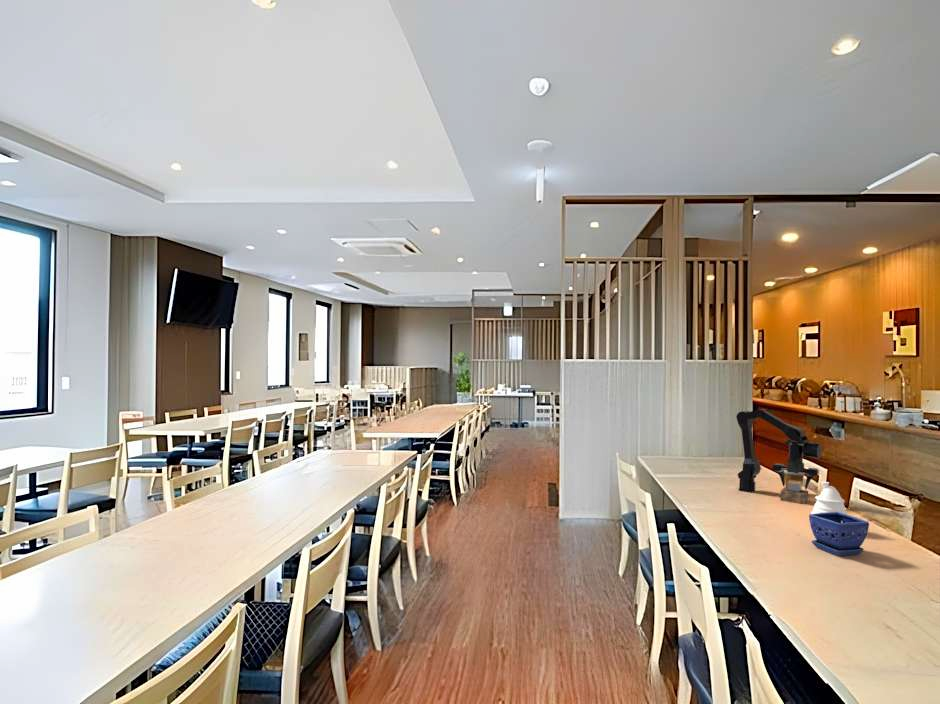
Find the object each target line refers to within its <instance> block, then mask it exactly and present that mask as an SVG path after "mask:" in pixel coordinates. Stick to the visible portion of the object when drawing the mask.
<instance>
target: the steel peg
mask: <svg viewBox="0 0 940 704" xmlns="http://www.w3.org/2000/svg"><path fill="white" fill-rule="evenodd" d="M801 487H803V483H802V481H796V480H789V481H788V491H790V492H797V493H801V490H802V489H801Z"/></svg>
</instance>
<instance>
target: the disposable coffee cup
mask: <svg viewBox="0 0 940 704" xmlns="http://www.w3.org/2000/svg"><path fill="white" fill-rule="evenodd" d="M783 471H784V474H785V487H786V488H788V481H789V480H796V481H802V484H803V482H804V476H805V475H806V473H803V472H799V473H794V472H787V470H783ZM802 487H803V486H802ZM802 487H801V490H803V489H802Z"/></svg>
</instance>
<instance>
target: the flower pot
mask: <svg viewBox="0 0 940 704" xmlns="http://www.w3.org/2000/svg"><path fill="white" fill-rule="evenodd" d="M808 518H809V519H808V520H809V525H810V529H811V532H812V534H813V537H814V538H815V540H811V543H812V545H813V546H814V547H816V548H817V549H820V550H822V551H824V552H827V553H829V554H832V555H834V556H839V557H840V556H841V557H842V556H853V555H859V554H861V553H863V551H864V549H865V548H863V547H861V546H862V545H863V543H864V541H865V540H866V537H867V534H868V532H869V529H870V528H869V526H870V523H869V521H867V520H865V519H861V518H858V517H856V516H853V515H850V514H847V515H846V514H843V513H840V512H828V513H815V514H811V513H810V514H809V515H808ZM841 521H842V523H841Z"/></svg>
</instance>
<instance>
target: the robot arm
mask: <svg viewBox="0 0 940 704" xmlns="http://www.w3.org/2000/svg"><path fill="white" fill-rule="evenodd" d="M735 418H736V422H737V425H738V426H739V428H740V431H741V437H742V445H743V454H744V460H743V462H742V470H740V471H739V472H738V473H737V477H738V479H739V483H738V484H739V485H738V486H739V488H738V491H742V492H748V493H754V492H755V491H756V481H755V479H756V478H757V476H759V474H760V472H761V470H762V467H761V460H757V459H756V454H755V446H754V439H753V427H754V426H753V425H754V420H755V419H759V418H760V419H761V420H763V421H765V422H767V423H769V424H770V425H771V426H773V427H775V428H777V429H778V430H780V431H781V432H782V433H783V434H784V435H785V436H786V437H787V438H788V439H787V440H786V441H785V442H784V445H788V461H787V464H786V465H785V464H783V463H779V462H776V463H774V464H773V465H772V468H771V469H772V471H775V473H777V474H778V476H779V477H780V481H781V483H782V487H786V485H785V474H784V471H783V470H787V472H794V473H799V472H803V473H805V474H807V475H806V480H805V486H804V490H806V491H807V489H808V487H809V484H810V482H811V480H812V479H814V478H815V477H818V476H819V475H820V469H818V468H816V467H808V468H805V463H804V461H803V460H804V456H805V457H807V458H808V457H809V458H815V459H820V458H821V457H822V454H823V450H822V446H821V443H820V442H811V441H810V440H809V438H808V437H807V435H806V431H805V430H804V429H803V428H801V427H800V426H799V427H798V426H796V425H793V424H790V423H787V422H786V421H784V420H782V419H781V418H779V417H778V416H776V415H775V414H772V413H771V412H769V411H767V410H766V409H765V408H759V409H757V410H752V411H750V410H745V411H744V410H743V411H739V412H737V414H736V417H735Z"/></svg>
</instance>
